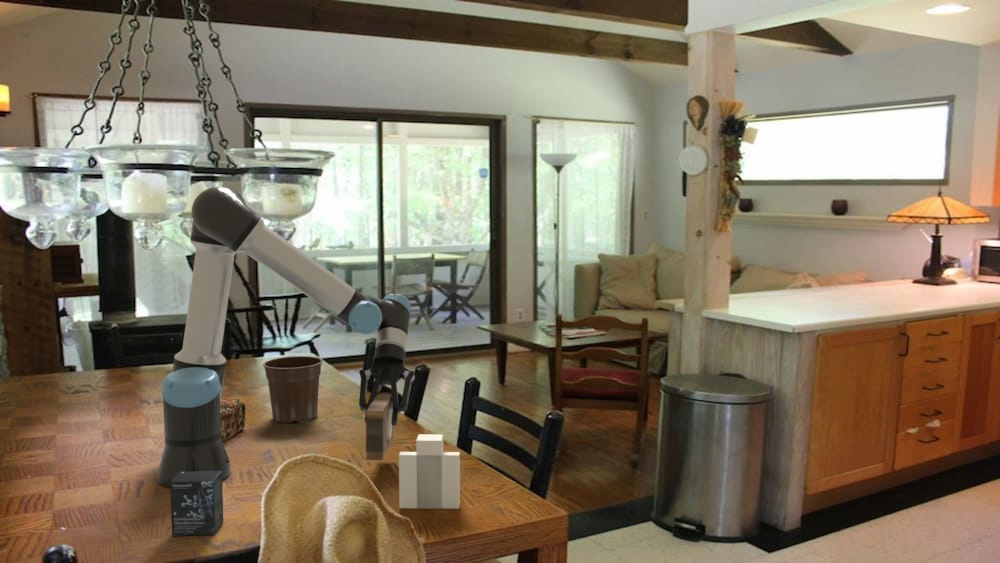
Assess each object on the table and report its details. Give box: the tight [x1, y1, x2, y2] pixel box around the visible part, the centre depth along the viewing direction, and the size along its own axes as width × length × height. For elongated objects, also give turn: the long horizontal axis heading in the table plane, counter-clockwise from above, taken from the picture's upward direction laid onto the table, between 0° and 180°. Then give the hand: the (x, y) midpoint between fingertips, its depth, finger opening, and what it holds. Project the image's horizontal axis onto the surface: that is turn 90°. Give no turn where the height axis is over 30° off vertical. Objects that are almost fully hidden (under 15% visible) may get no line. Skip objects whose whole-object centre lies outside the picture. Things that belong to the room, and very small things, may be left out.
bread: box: [220, 396, 247, 443], centre depth 199 cm, size 19×11×10 cm, turn 169°
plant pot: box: [262, 355, 324, 424], centre depth 217 cm, size 16×16×16 cm
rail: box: [365, 391, 394, 461], centre depth 176 cm, size 16×4×11 cm, turn 0°
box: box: [169, 471, 224, 537], centre depth 144 cm, size 8×6×11 cm
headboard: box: [398, 433, 461, 510], centre depth 158 cm, size 8×12×14 cm, turn 89°
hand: (379, 436), depth 175 cm, fingers closed on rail, 3 cm apart
